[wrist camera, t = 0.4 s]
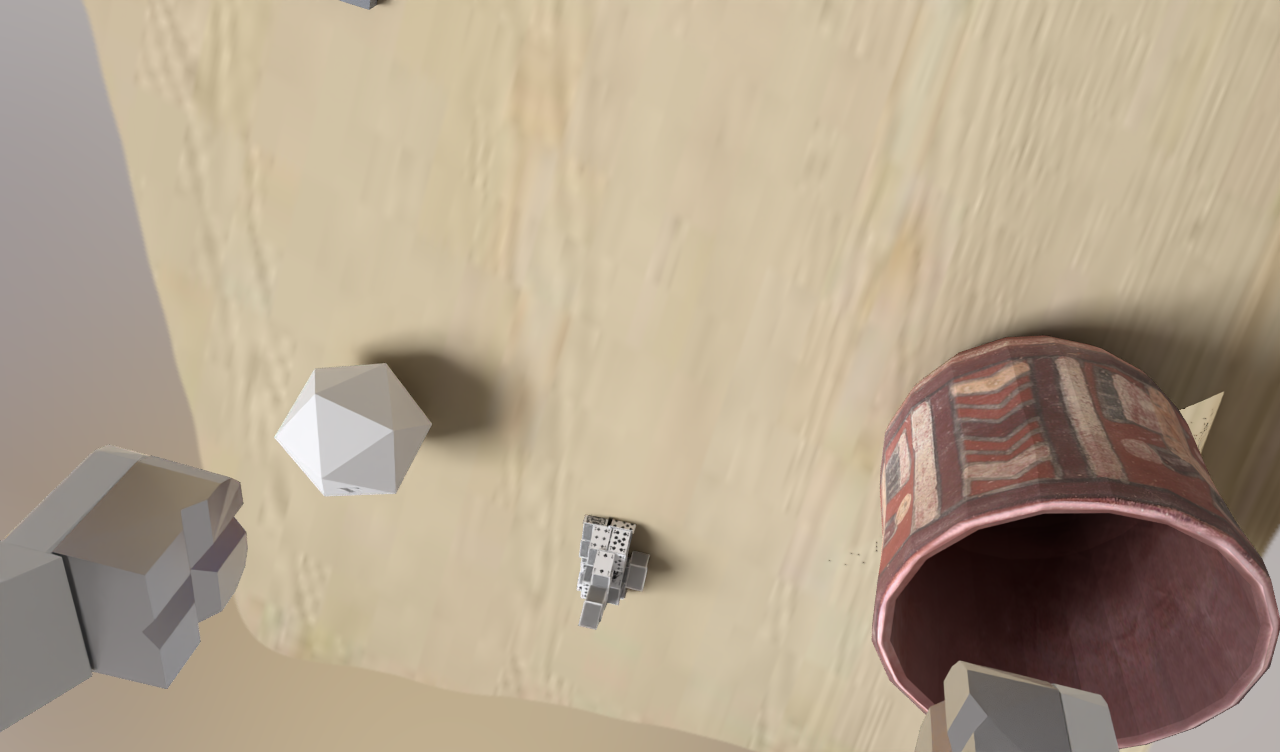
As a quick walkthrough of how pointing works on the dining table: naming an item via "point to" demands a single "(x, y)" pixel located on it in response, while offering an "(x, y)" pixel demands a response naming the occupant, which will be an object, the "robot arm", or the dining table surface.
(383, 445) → the die
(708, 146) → the dining table surface
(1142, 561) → the pottery
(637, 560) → the house of cards
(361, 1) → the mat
